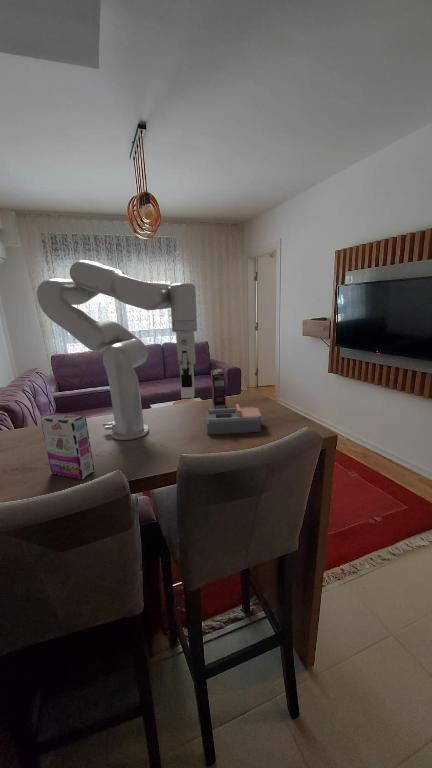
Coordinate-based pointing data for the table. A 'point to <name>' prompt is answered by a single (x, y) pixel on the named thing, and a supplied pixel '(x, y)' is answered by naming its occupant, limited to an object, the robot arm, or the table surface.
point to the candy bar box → (68, 444)
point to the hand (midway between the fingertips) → (187, 384)
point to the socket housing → (231, 422)
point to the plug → (187, 391)
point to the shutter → (247, 412)
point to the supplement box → (218, 389)
